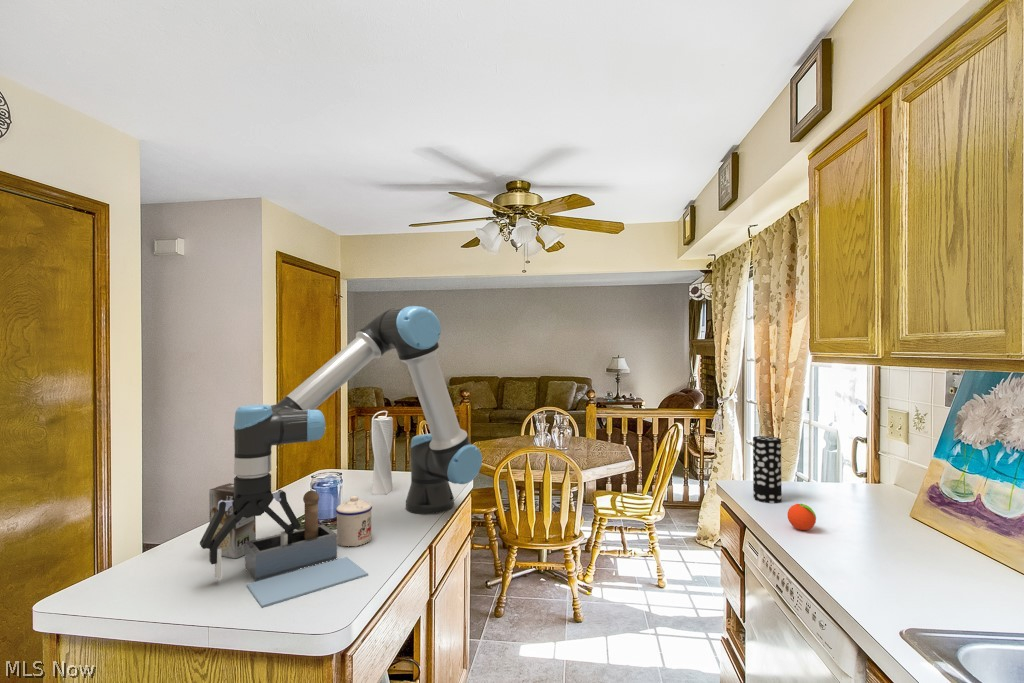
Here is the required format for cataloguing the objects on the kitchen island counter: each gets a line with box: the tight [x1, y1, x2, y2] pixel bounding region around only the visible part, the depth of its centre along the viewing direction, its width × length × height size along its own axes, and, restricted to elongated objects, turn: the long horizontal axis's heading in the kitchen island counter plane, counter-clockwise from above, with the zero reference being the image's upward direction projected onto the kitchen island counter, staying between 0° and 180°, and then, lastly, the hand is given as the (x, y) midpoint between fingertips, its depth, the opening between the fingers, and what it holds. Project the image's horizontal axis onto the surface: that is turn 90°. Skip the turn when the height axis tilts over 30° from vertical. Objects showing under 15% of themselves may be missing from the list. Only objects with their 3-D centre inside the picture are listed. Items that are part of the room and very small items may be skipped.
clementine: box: [786, 503, 817, 531], centre depth 142 cm, size 8×7×7 cm
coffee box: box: [208, 483, 257, 559], centre depth 130 cm, size 9×6×16 cm
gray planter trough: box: [244, 524, 338, 582], centre depth 122 cm, size 18×9×6 cm, turn 130°
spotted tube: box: [752, 435, 783, 504], centre depth 171 cm, size 8×8×20 cm
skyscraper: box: [371, 410, 394, 496], centre depth 181 cm, size 8×8×28 cm
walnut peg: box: [302, 489, 320, 540], centre depth 125 cm, size 4×4×16 cm
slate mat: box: [246, 556, 369, 609], centre depth 113 cm, size 22×12×1 cm, turn 130°
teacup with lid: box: [335, 495, 373, 548], centre depth 138 cm, size 12×9×12 cm
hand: (252, 569), depth 117 cm, fingers open, 13 cm apart
